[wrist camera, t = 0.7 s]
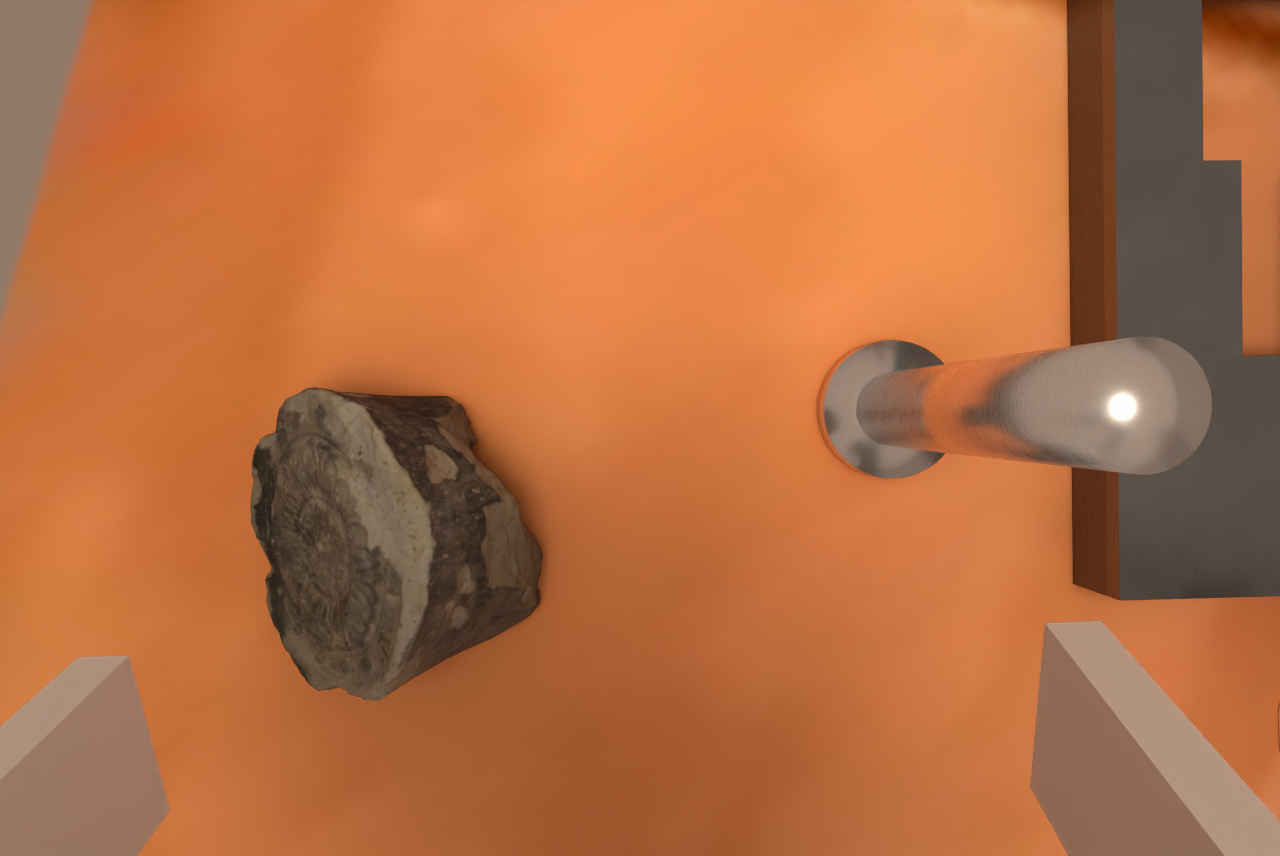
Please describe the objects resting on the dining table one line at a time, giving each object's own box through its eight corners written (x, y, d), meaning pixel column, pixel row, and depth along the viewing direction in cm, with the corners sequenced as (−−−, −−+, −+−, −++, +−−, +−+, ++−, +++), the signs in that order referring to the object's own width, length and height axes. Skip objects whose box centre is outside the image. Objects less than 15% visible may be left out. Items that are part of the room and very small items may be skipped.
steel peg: (949, 474, 35) (1270, 531, 18) (818, 477, 35) (1019, 537, 18) (947, 342, 35) (1268, 275, 18) (815, 343, 35) (1016, 278, 18)
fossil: (185, 473, 34) (183, 403, 25) (404, 376, 38) (467, 288, 30) (326, 729, 34) (373, 747, 25) (528, 602, 38) (628, 580, 30)
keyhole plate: (1390, 575, 36) (1467, 591, 33) (1073, 583, 36) (1119, 600, 32) (1388, -80, 36) (1465, -129, 33) (1066, -82, 35) (1112, -131, 32)
